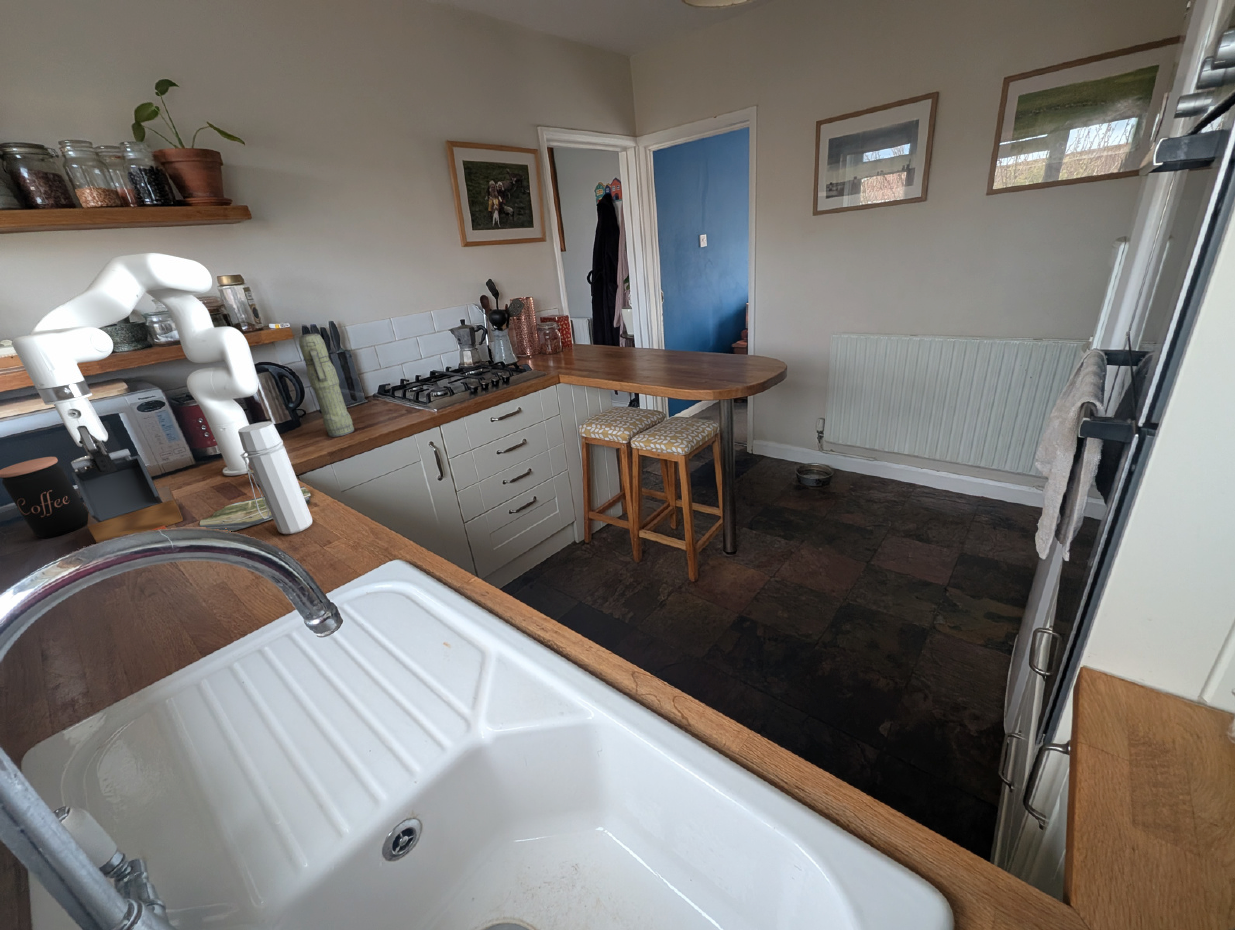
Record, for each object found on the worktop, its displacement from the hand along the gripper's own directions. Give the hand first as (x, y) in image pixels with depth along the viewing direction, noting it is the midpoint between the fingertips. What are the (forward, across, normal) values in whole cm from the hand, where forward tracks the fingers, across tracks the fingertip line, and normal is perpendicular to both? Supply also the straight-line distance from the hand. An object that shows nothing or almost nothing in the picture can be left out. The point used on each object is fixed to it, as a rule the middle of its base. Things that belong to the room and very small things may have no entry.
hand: (107, 470), depth 119 cm
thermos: (+18, +41, -58) cm, 73 cm away
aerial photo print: (+18, -11, -22) cm, 30 cm away
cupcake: (+18, +11, -30) cm, 36 cm away
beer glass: (+18, +32, +5) cm, 37 cm away
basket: (+7, +5, 0) cm, 9 cm away
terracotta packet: (+16, -4, -3) cm, 17 cm away
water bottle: (+18, -29, -26) cm, 43 cm away
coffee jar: (+18, +27, +15) cm, 35 cm away
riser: (+18, +9, 0) cm, 20 cm away
